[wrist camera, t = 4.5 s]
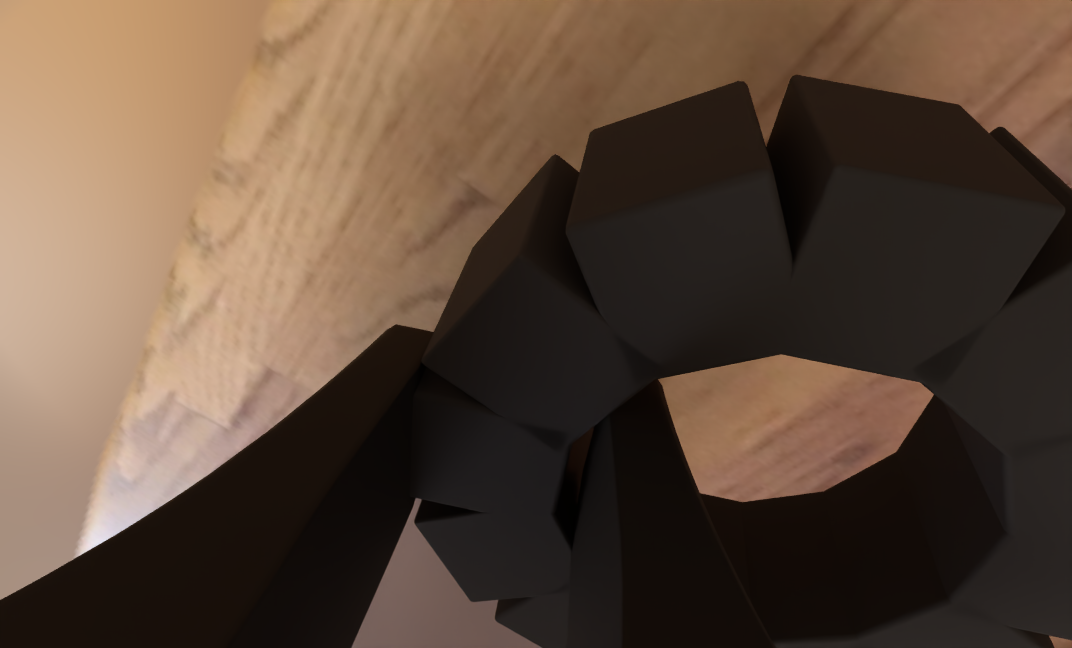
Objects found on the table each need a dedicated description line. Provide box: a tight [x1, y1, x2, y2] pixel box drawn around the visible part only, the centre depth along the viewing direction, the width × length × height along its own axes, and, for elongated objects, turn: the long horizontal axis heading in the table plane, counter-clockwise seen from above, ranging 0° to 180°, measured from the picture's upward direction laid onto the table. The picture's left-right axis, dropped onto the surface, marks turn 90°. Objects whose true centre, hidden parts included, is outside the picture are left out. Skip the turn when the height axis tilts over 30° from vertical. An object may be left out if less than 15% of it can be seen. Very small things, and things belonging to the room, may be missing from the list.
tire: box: [410, 75, 1072, 648], centre depth 9 cm, size 9×9×3 cm
